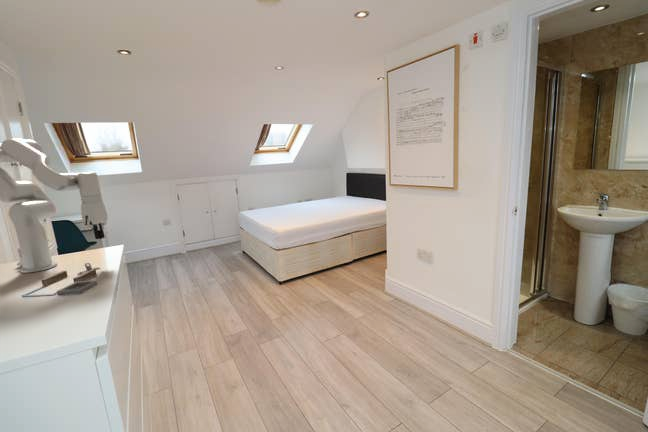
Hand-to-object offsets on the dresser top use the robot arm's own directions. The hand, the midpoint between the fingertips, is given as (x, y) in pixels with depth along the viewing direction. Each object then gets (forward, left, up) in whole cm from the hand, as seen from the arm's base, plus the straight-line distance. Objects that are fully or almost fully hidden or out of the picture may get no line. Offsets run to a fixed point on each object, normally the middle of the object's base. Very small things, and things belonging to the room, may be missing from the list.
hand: (100, 238), depth 140 cm
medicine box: (-42, +9, -13) cm, 45 cm away
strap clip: (-1, -9, -13) cm, 16 cm away
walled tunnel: (-1, -19, -13) cm, 23 cm away
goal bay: (-1, -29, -13) cm, 32 cm away
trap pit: (+11, -30, -13) cm, 34 cm away
